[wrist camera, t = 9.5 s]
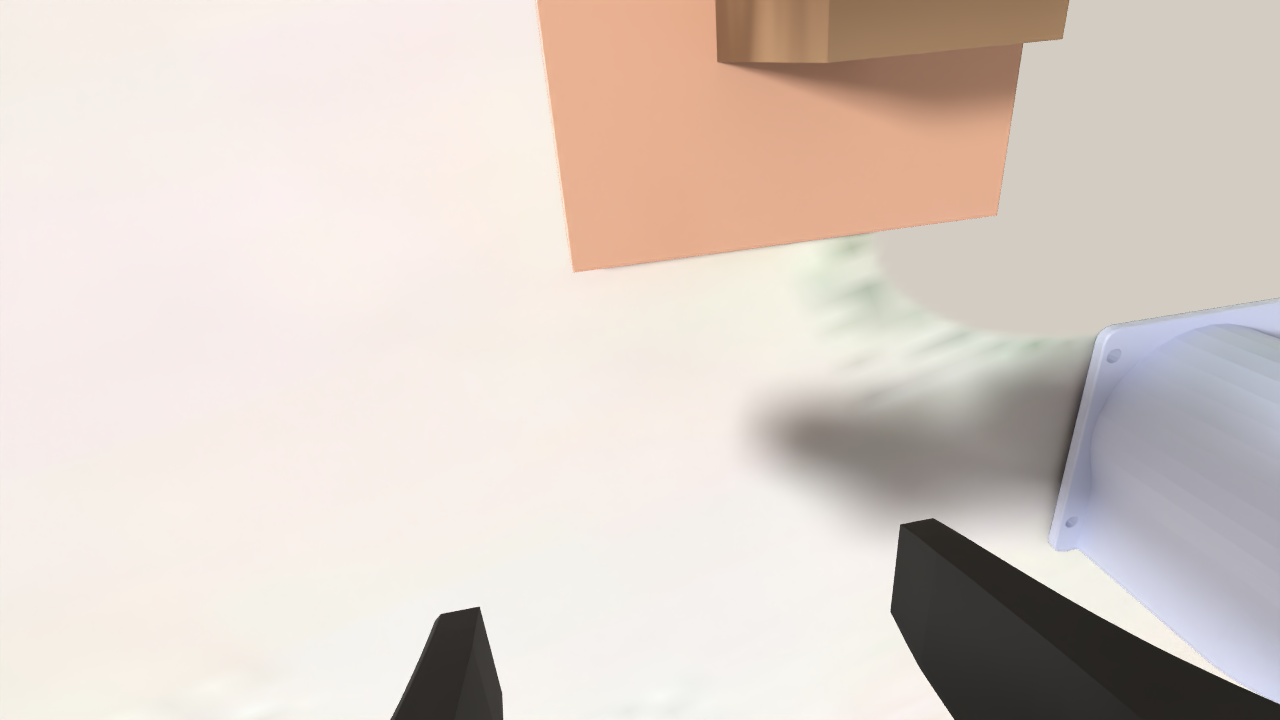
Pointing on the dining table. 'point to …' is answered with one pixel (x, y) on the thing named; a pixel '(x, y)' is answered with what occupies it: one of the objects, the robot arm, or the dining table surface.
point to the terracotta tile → (757, 136)
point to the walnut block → (876, 27)
